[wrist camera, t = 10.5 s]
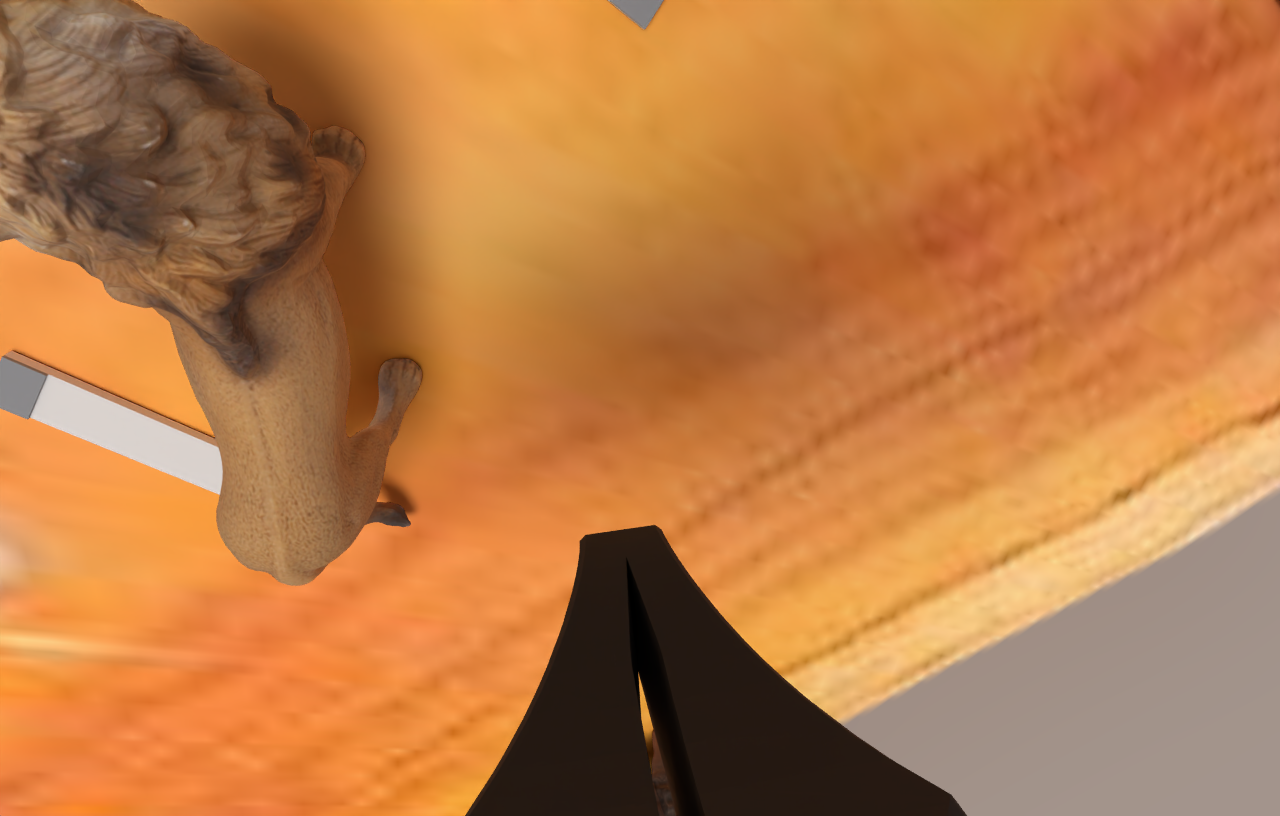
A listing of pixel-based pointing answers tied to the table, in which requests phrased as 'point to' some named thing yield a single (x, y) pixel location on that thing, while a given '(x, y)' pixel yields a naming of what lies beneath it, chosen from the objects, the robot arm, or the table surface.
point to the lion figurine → (205, 254)
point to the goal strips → (130, 425)
